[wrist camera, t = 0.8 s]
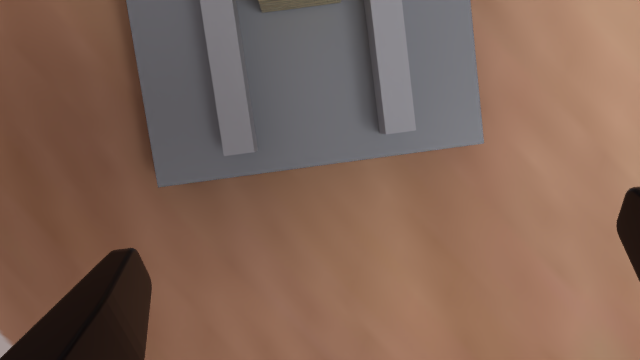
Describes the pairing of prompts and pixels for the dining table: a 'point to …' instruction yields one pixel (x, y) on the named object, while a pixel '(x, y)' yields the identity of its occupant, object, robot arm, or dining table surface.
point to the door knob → (291, 4)
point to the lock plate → (302, 83)
